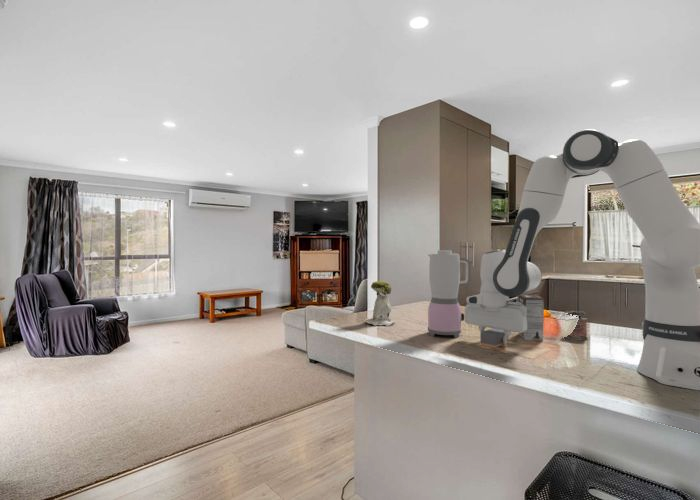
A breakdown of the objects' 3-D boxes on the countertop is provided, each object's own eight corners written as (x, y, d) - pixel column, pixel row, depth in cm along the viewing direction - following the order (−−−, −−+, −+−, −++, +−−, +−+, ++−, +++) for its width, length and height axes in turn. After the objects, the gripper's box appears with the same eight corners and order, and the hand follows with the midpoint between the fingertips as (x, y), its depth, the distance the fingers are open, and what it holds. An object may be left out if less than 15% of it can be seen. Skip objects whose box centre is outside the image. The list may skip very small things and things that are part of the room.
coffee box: (517, 337, 136) (518, 294, 136) (536, 338, 135) (536, 294, 135) (524, 344, 127) (524, 297, 127) (544, 345, 126) (544, 298, 126)
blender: (428, 337, 136) (428, 250, 136) (426, 330, 148) (426, 250, 148) (472, 339, 134) (473, 250, 133) (467, 331, 146) (467, 250, 145)
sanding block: (508, 342, 124) (508, 330, 123) (495, 347, 118) (495, 335, 117) (493, 339, 127) (493, 328, 127) (480, 344, 121) (480, 332, 121)
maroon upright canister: (563, 339, 134) (564, 311, 134) (560, 336, 138) (561, 309, 138) (588, 340, 132) (589, 312, 132) (585, 338, 136) (585, 310, 136)
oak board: (551, 354, 116) (552, 349, 116) (533, 364, 106) (533, 358, 106) (485, 340, 132) (485, 336, 132) (464, 348, 123) (464, 343, 123)
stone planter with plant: (364, 320, 167) (364, 279, 167) (393, 320, 167) (393, 279, 167) (365, 326, 155) (365, 282, 155) (396, 326, 155) (396, 282, 155)
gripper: (530, 302, 117) (530, 346, 117) (471, 295, 132) (471, 334, 132) (522, 304, 112) (522, 349, 113) (462, 297, 128) (462, 337, 128)
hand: (494, 341), depth 122 cm, fingers closed on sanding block, 5 cm apart
